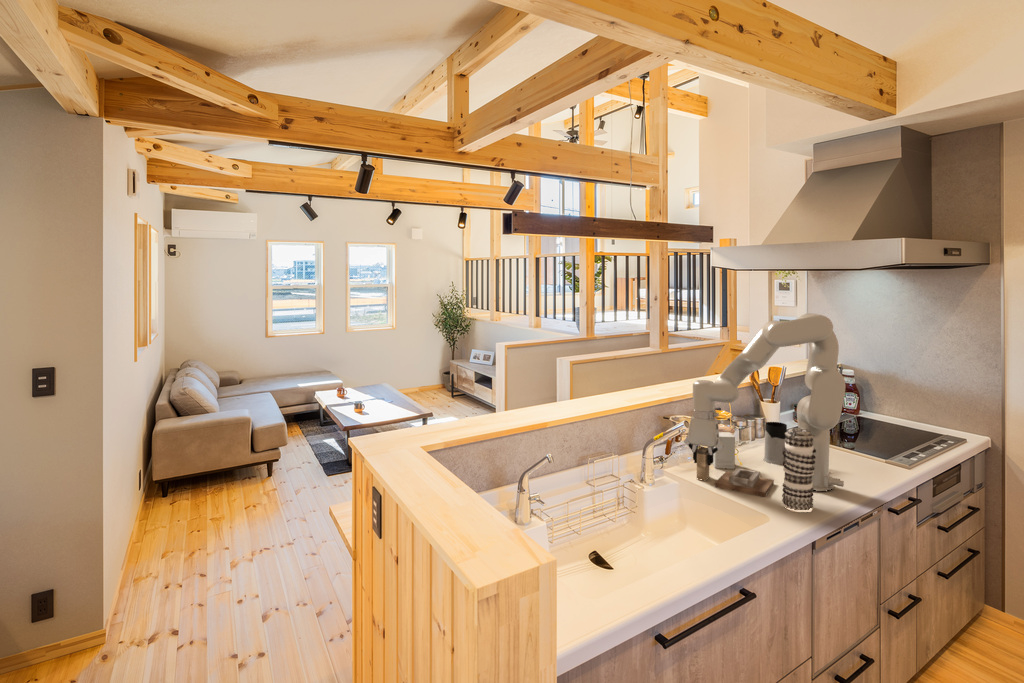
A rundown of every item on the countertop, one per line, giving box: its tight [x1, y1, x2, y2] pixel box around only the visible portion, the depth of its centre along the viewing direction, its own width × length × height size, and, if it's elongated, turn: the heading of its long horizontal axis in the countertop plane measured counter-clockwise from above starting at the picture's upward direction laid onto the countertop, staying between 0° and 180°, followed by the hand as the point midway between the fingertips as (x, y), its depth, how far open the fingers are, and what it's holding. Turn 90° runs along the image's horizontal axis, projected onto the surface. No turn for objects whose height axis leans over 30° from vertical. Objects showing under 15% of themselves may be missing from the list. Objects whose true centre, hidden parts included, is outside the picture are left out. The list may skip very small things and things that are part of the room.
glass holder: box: [762, 421, 788, 465], centre depth 201 cm, size 9×14×15 cm, turn 70°
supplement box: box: [711, 431, 736, 470], centre depth 198 cm, size 7×7×13 cm
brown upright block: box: [696, 446, 710, 481], centre depth 185 cm, size 3×5×11 cm, turn 142°
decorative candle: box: [781, 427, 816, 510], centre depth 158 cm, size 9×9×25 cm
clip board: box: [714, 467, 775, 498], centre depth 178 cm, size 16×14×4 cm
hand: (703, 462), depth 185 cm, fingers open, 4 cm apart
